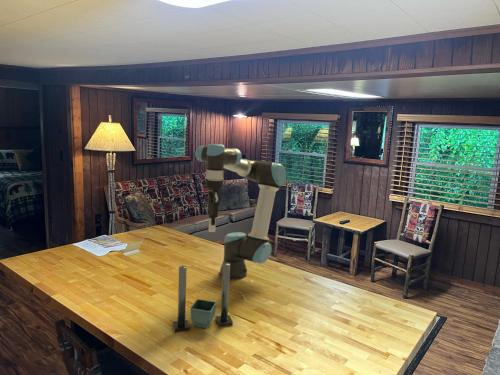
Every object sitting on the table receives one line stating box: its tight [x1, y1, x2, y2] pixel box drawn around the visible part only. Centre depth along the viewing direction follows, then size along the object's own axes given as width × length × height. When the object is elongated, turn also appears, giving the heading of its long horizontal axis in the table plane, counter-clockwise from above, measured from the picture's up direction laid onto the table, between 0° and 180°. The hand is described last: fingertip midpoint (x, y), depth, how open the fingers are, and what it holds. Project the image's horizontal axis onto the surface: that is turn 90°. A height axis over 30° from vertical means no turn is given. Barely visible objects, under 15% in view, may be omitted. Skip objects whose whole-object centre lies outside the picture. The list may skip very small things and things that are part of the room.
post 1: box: [172, 265, 191, 333], centre depth 156 cm, size 6×6×26 cm
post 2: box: [214, 262, 234, 328], centre depth 162 cm, size 6×6×26 cm
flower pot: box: [189, 298, 217, 329], centre depth 160 cm, size 9×9×9 cm
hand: (211, 231), depth 173 cm, fingers closed
